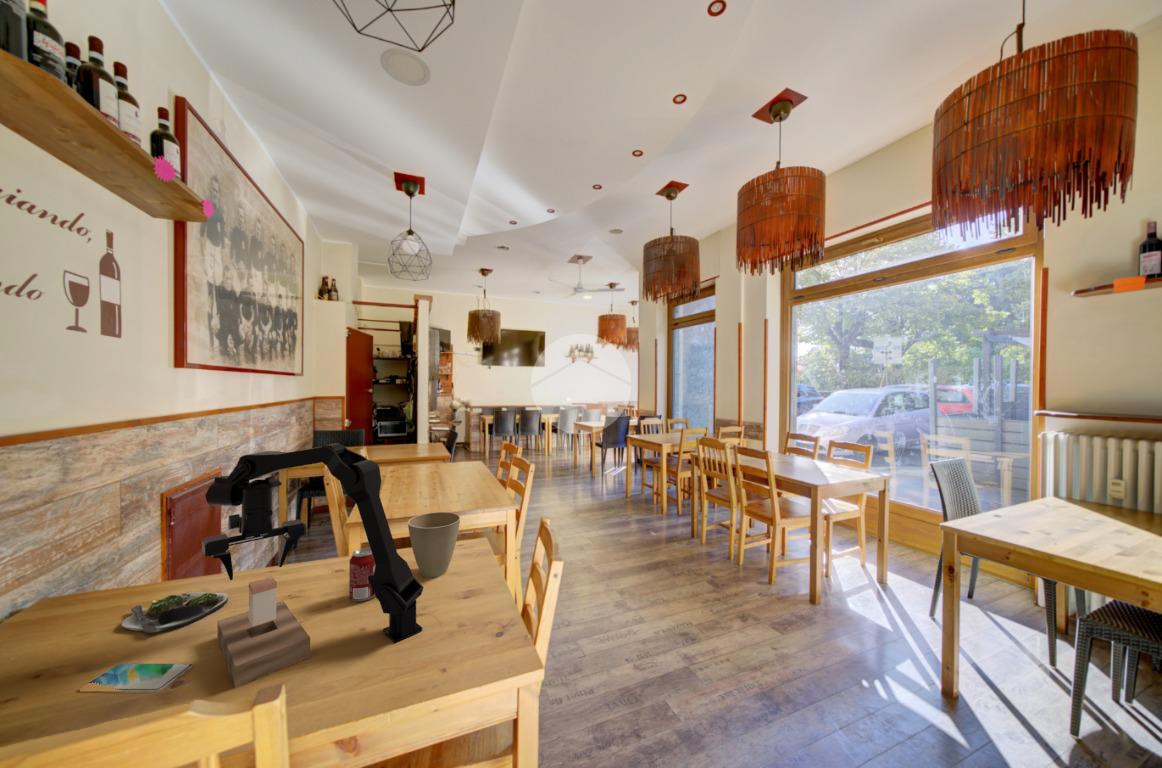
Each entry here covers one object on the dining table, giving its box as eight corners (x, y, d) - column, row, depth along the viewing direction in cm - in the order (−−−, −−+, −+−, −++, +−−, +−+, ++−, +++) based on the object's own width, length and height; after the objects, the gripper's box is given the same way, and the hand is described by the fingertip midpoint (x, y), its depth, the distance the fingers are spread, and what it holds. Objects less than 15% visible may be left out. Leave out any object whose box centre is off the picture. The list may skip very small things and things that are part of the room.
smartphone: (158, 690, 76) (75, 690, 76) (158, 694, 76) (75, 694, 76) (195, 662, 83) (119, 662, 83) (195, 667, 83) (119, 667, 83)
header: (310, 657, 86) (310, 637, 86) (234, 688, 77) (235, 666, 77) (282, 617, 100) (283, 600, 100) (217, 639, 92) (217, 621, 92)
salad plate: (89, 633, 94) (90, 613, 94) (177, 595, 112) (177, 577, 112) (161, 642, 91) (161, 621, 91) (239, 600, 109) (240, 583, 109)
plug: (276, 618, 89) (276, 582, 89) (252, 626, 86) (252, 588, 86) (271, 611, 91) (272, 576, 92) (248, 619, 88) (248, 582, 89)
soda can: (369, 603, 107) (370, 556, 107) (343, 603, 107) (344, 556, 107) (382, 590, 114) (383, 546, 114) (358, 590, 114) (358, 546, 114)
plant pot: (395, 578, 121) (396, 523, 121) (432, 558, 135) (433, 509, 135) (435, 588, 115) (436, 530, 115) (470, 566, 129) (470, 515, 129)
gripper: (294, 492, 110) (294, 552, 110) (199, 507, 96) (198, 575, 96) (307, 500, 102) (306, 564, 102) (205, 518, 89) (204, 591, 88)
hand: (256, 572), depth 97 cm, fingers open, 9 cm apart
